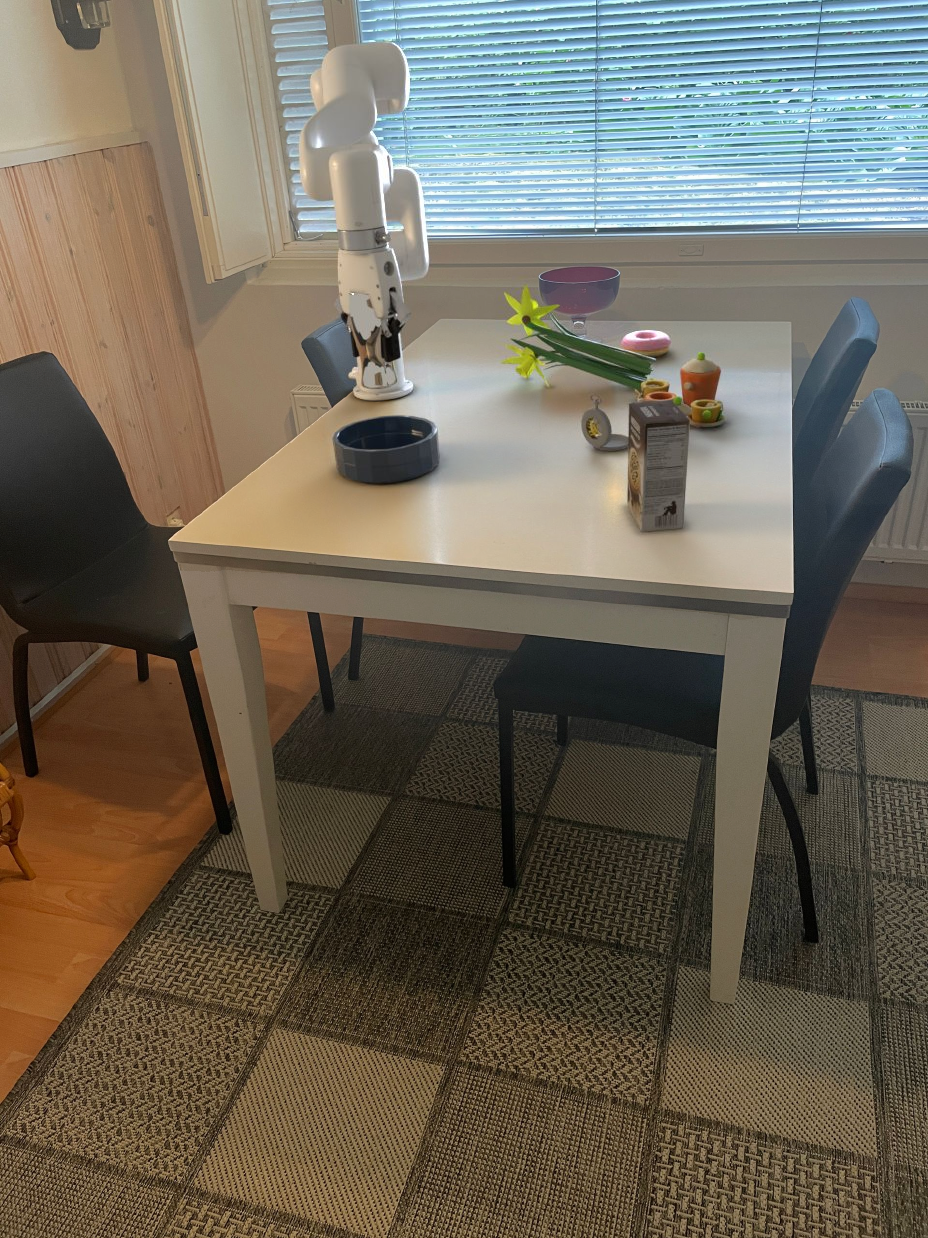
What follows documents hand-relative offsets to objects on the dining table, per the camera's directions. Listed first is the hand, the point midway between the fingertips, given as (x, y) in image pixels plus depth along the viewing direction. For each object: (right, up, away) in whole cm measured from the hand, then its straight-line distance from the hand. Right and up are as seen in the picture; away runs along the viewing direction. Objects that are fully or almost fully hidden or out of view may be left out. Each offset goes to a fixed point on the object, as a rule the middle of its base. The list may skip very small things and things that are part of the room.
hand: (376, 356), depth 152 cm
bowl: (+1, -16, +10) cm, 19 cm away
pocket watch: (+39, -13, +10) cm, 42 cm away
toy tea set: (+54, -5, +21) cm, 58 cm away
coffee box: (+42, -28, -15) cm, 53 cm away
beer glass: (0, -4, +2) cm, 5 cm away
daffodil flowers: (+38, +7, +44) cm, 58 cm away
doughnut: (+55, +17, +59) cm, 82 cm away
